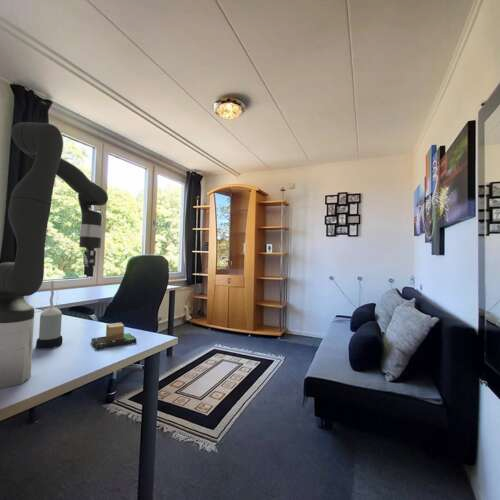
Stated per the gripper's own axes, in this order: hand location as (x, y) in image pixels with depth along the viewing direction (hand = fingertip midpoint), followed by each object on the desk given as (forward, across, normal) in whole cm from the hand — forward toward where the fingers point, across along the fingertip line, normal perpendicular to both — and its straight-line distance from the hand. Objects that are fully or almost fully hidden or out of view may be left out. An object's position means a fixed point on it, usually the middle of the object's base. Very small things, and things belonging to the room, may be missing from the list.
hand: (88, 275), depth 108 cm
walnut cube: (+25, -6, -10) cm, 28 cm away
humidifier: (+27, +3, +11) cm, 30 cm away
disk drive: (+28, -6, -10) cm, 30 cm away
